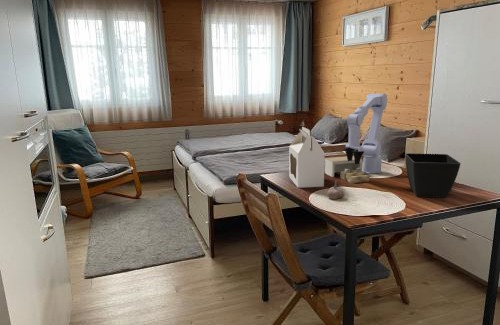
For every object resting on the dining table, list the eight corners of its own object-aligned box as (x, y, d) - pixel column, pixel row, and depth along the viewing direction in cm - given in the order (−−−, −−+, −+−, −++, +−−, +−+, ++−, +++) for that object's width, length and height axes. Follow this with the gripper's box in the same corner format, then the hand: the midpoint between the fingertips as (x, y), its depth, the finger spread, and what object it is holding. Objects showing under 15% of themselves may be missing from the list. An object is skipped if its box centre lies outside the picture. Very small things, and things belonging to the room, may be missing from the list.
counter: (353, 170, 220) (353, 155, 218) (362, 174, 210) (362, 159, 208) (324, 172, 215) (324, 158, 214) (332, 177, 206) (332, 161, 204)
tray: (360, 176, 206) (360, 167, 205) (370, 181, 196) (371, 171, 195) (339, 178, 204) (340, 168, 202) (349, 183, 193) (349, 173, 192)
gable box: (289, 176, 208) (289, 126, 203) (312, 175, 210) (313, 125, 204) (297, 188, 187) (298, 131, 181) (324, 186, 188) (325, 130, 182)
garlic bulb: (343, 195, 173) (343, 178, 171) (344, 200, 166) (345, 183, 164) (326, 195, 174) (326, 178, 173) (326, 200, 167) (327, 182, 166)
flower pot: (457, 200, 163) (461, 162, 159) (411, 199, 166) (413, 161, 163) (444, 188, 181) (447, 153, 177) (402, 187, 184) (404, 153, 181)
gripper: (340, 135, 204) (340, 160, 206) (354, 139, 190) (353, 165, 193) (352, 134, 205) (351, 159, 208) (366, 138, 191) (365, 164, 194)
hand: (353, 162), depth 201 cm, fingers open, 7 cm apart
